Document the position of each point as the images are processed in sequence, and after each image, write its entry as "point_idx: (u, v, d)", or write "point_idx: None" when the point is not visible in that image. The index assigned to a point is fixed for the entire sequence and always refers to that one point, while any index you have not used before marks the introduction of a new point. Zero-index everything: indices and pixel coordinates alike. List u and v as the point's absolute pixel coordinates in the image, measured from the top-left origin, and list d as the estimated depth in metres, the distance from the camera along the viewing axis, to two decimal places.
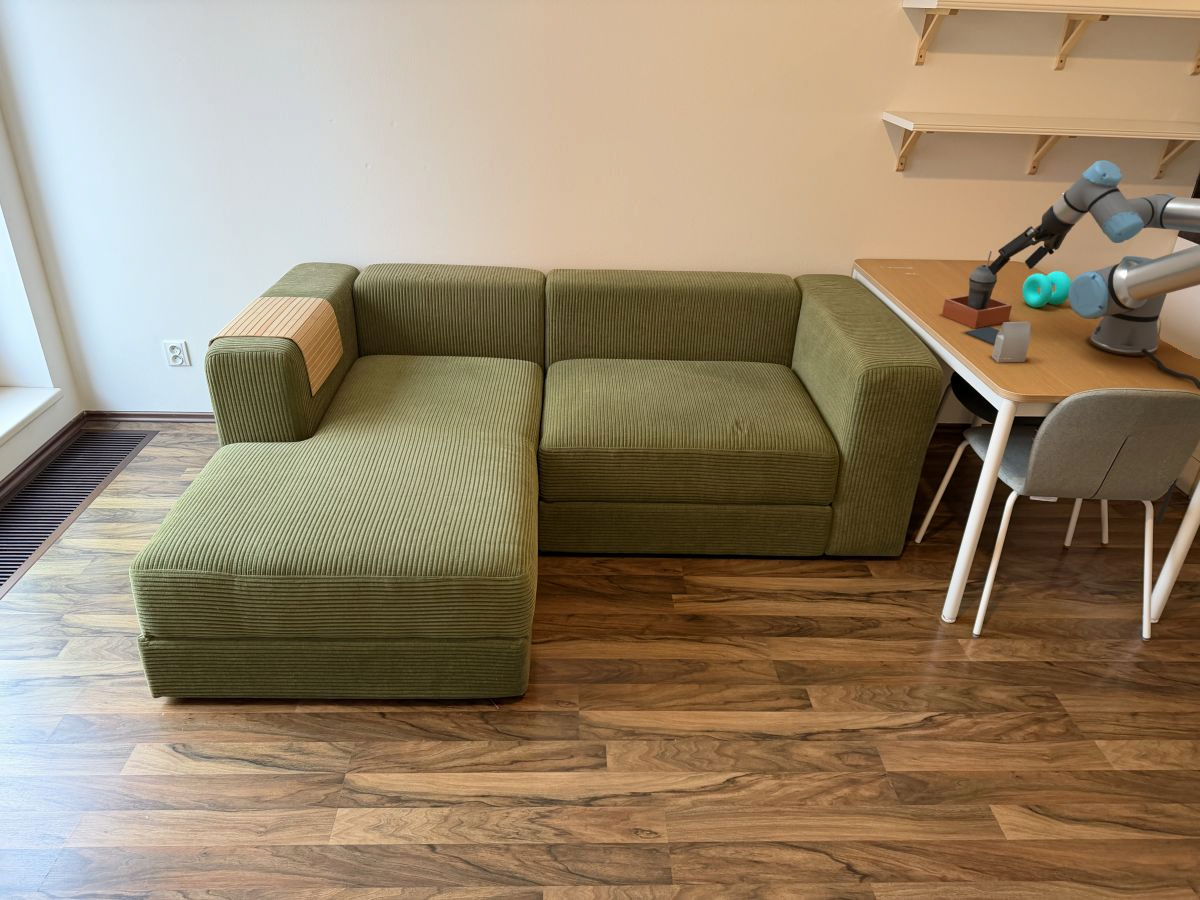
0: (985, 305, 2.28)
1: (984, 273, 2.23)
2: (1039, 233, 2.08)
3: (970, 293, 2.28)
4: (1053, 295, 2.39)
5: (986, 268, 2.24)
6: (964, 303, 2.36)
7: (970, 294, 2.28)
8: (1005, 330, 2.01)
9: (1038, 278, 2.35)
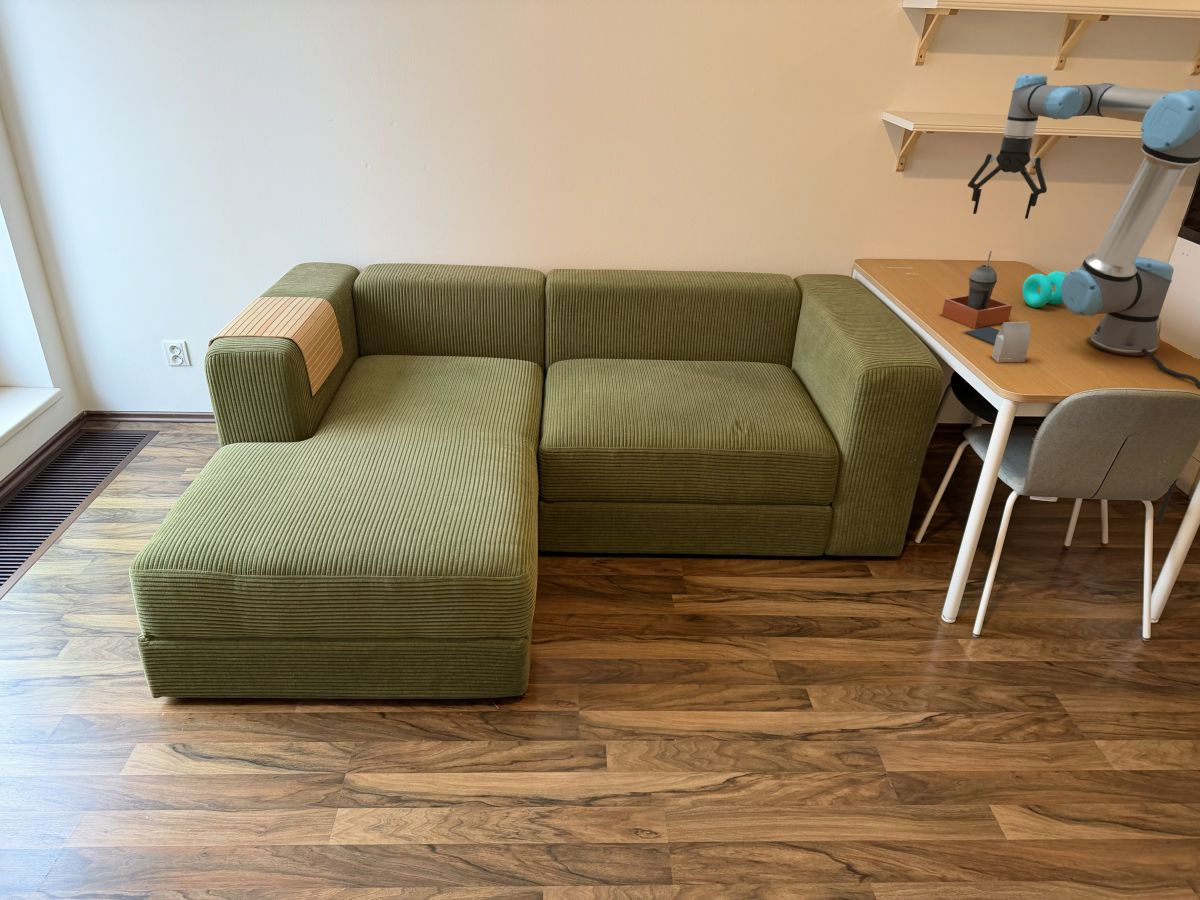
0: (985, 305, 2.28)
1: (984, 273, 2.23)
2: (997, 157, 2.22)
3: (970, 293, 2.28)
4: (1053, 295, 2.39)
5: (986, 268, 2.24)
6: (964, 303, 2.36)
7: (970, 294, 2.28)
8: (1005, 330, 2.01)
9: (1038, 278, 2.35)
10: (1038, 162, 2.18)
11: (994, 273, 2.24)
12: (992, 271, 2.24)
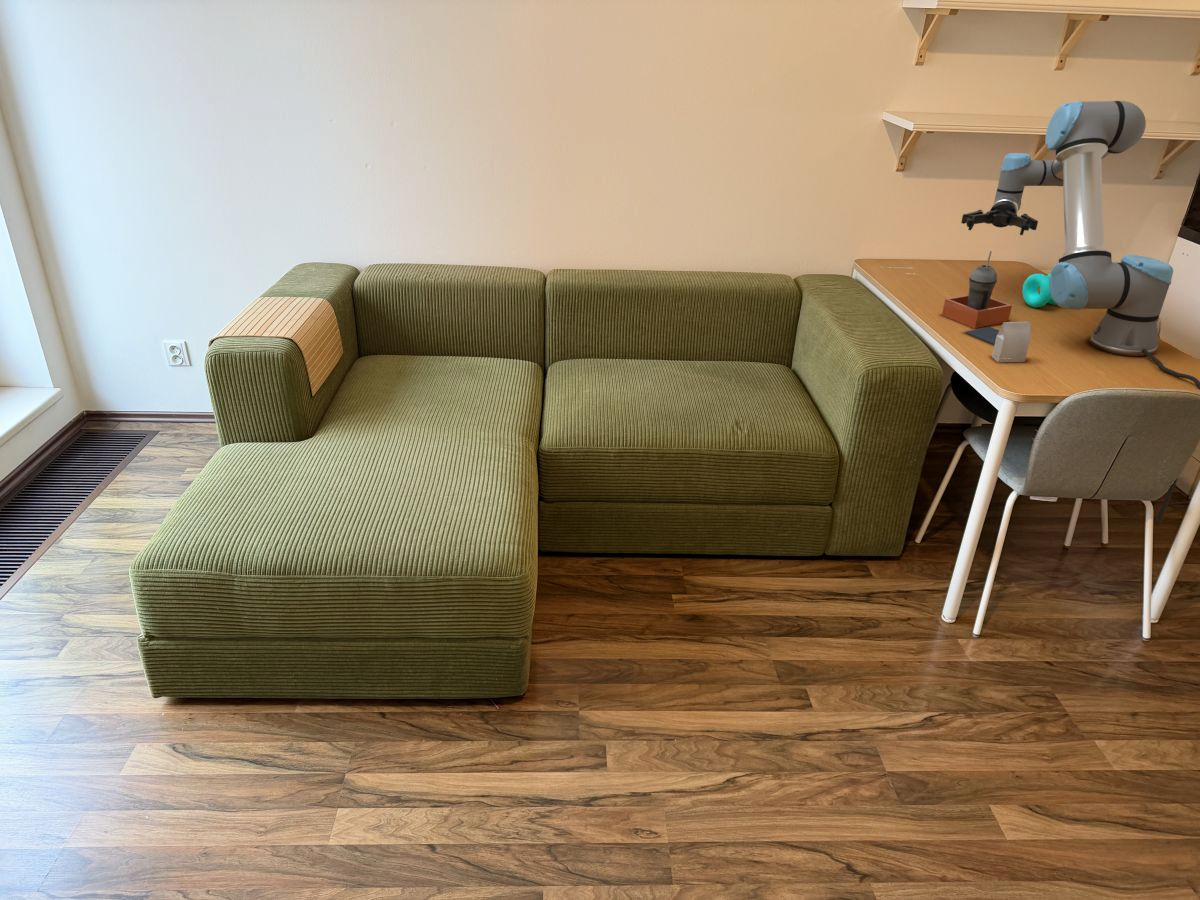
0: (985, 305, 2.28)
1: (984, 273, 2.23)
2: None
3: (970, 293, 2.28)
4: None
5: (986, 268, 2.24)
6: (964, 303, 2.36)
7: (970, 294, 2.28)
8: (1005, 330, 2.01)
9: (1038, 278, 2.35)
10: (1026, 214, 2.36)
11: (994, 273, 2.24)
12: (992, 271, 2.24)
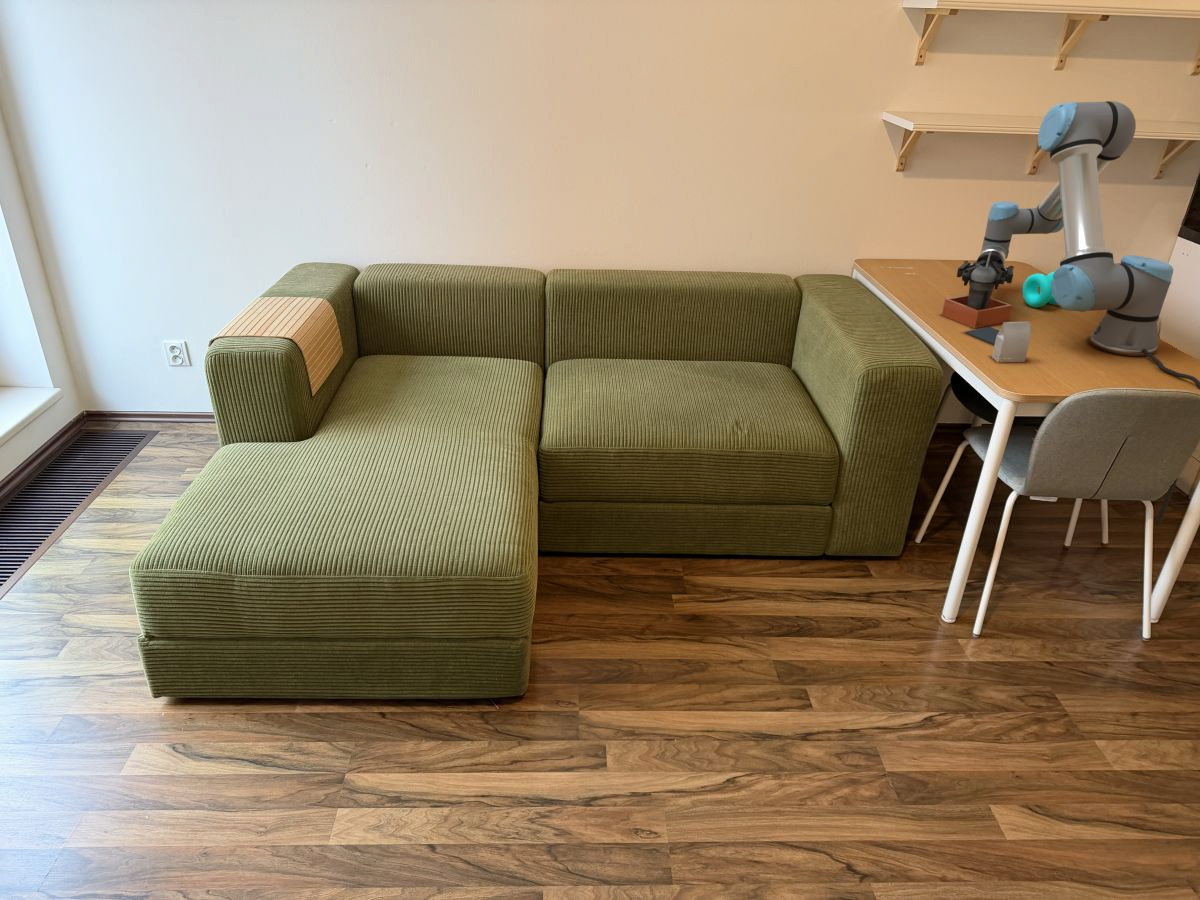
0: (985, 305, 2.28)
1: (984, 273, 2.23)
2: (974, 262, 2.37)
3: (970, 293, 2.28)
4: None
5: (986, 268, 2.24)
6: (964, 303, 2.36)
7: (970, 294, 2.28)
8: (1005, 330, 2.01)
9: (1038, 278, 2.35)
10: (1011, 267, 2.32)
11: (994, 273, 2.24)
12: (992, 271, 2.24)
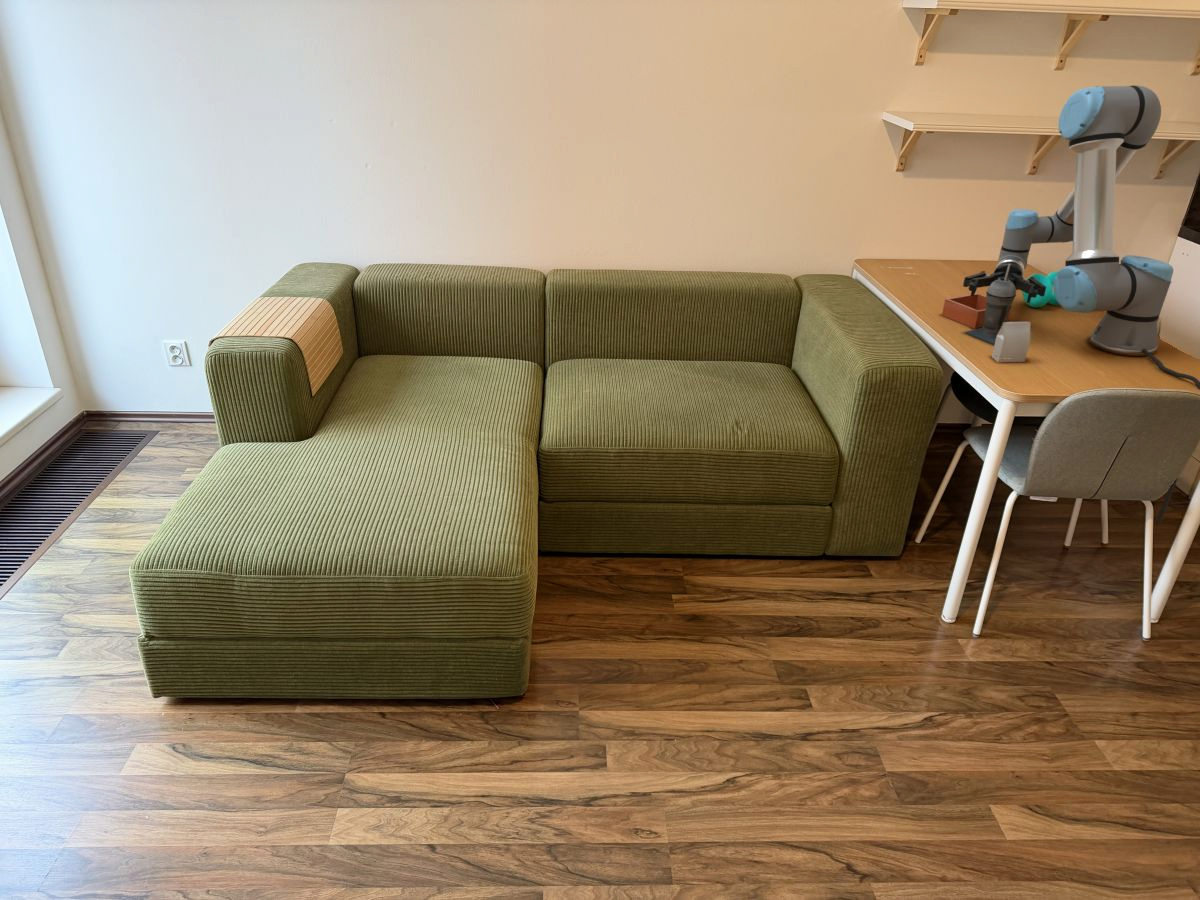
0: (1003, 321, 2.15)
1: (1002, 287, 2.10)
2: None
3: (987, 308, 2.15)
4: (1053, 295, 2.39)
5: (1004, 282, 2.11)
6: (964, 303, 2.36)
7: (987, 309, 2.15)
8: (1005, 330, 2.01)
9: (1038, 278, 2.35)
10: (1033, 278, 2.19)
11: (1013, 287, 2.11)
12: (1011, 285, 2.11)
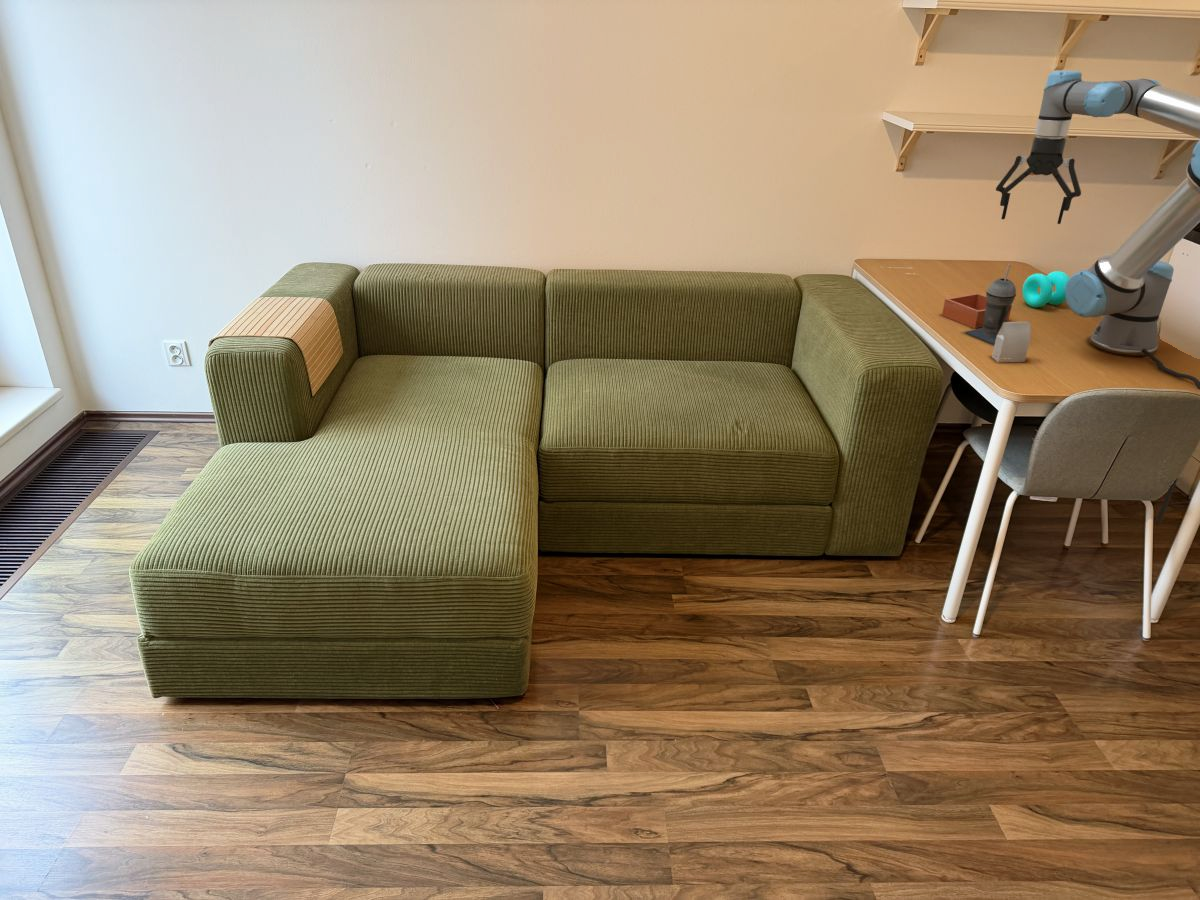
0: (1003, 321, 2.15)
1: (1002, 287, 2.10)
2: (1027, 159, 2.09)
3: (987, 308, 2.15)
4: (1053, 295, 2.39)
5: (1004, 282, 2.11)
6: (964, 303, 2.36)
7: (987, 309, 2.15)
8: (1005, 330, 2.01)
9: (1038, 278, 2.35)
10: (1072, 164, 2.05)
11: (1013, 287, 2.11)
12: (1011, 285, 2.11)
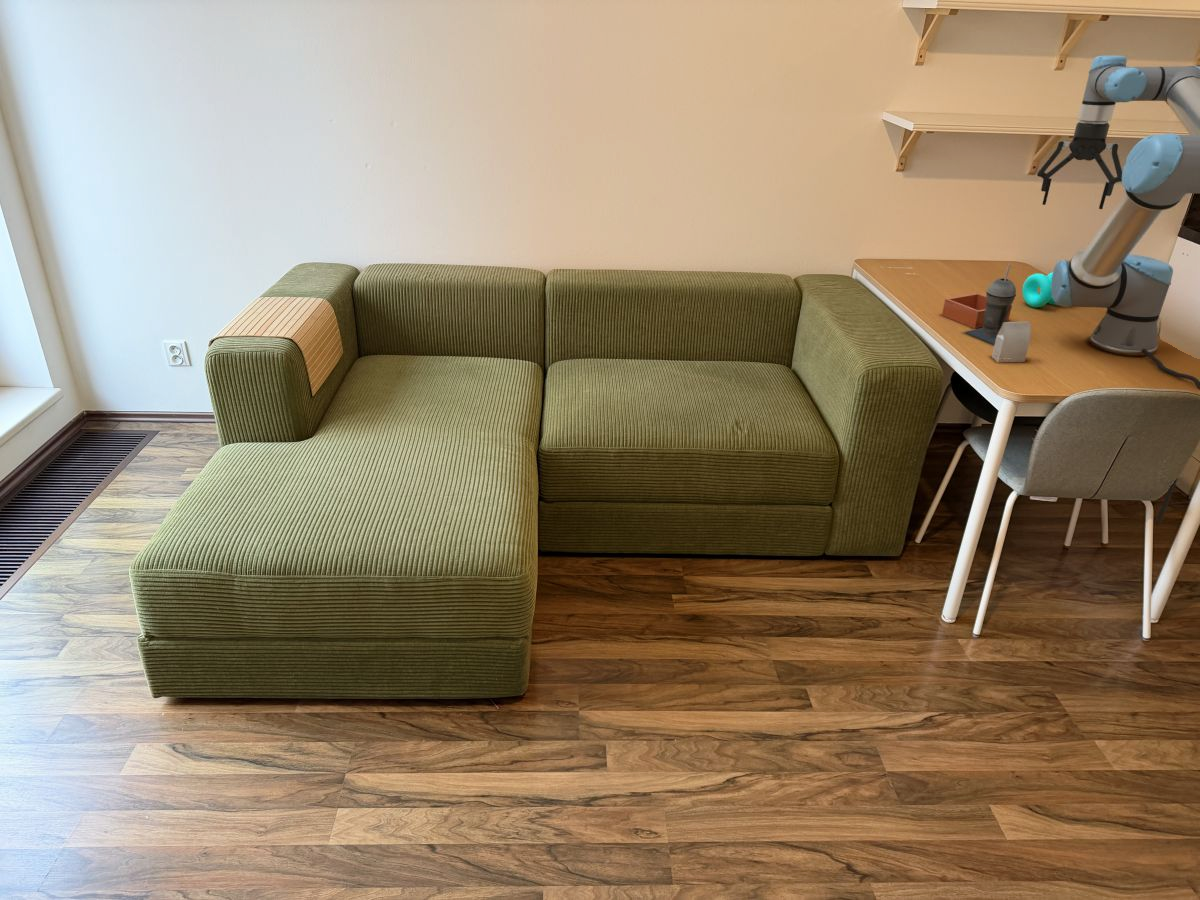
0: (1003, 321, 2.15)
1: (1002, 287, 2.10)
2: (1070, 144, 2.10)
3: (987, 308, 2.15)
4: None
5: (1004, 282, 2.11)
6: (964, 303, 2.36)
7: (987, 309, 2.15)
8: (1005, 330, 2.01)
9: (1038, 278, 2.35)
10: (1115, 149, 2.06)
11: (1013, 287, 2.11)
12: (1011, 285, 2.11)
